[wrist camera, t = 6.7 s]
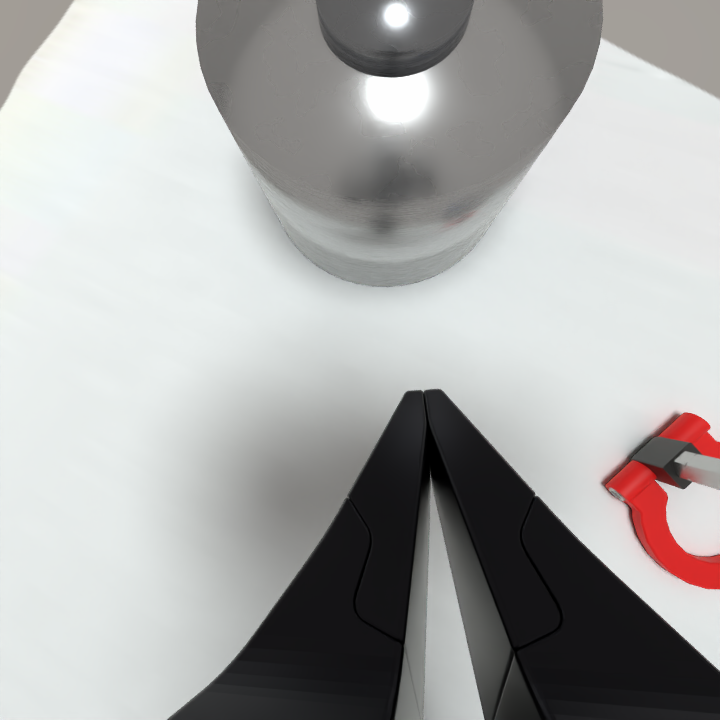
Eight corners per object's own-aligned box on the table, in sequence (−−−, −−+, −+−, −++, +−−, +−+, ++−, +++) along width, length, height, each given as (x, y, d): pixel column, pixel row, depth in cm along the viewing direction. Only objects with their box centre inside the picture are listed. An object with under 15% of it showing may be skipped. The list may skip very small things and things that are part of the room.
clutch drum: (411, 333, 22) (449, 273, 11) (228, 203, 23) (95, 31, 12) (546, 149, 22) (711, -83, 11) (361, 35, 24) (350, -266, 13)
